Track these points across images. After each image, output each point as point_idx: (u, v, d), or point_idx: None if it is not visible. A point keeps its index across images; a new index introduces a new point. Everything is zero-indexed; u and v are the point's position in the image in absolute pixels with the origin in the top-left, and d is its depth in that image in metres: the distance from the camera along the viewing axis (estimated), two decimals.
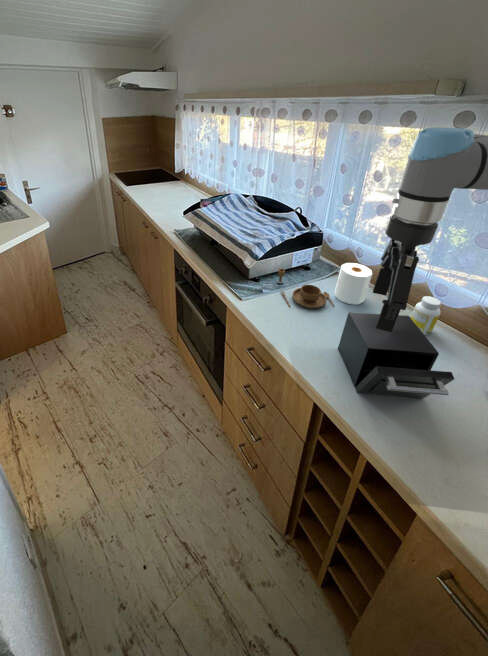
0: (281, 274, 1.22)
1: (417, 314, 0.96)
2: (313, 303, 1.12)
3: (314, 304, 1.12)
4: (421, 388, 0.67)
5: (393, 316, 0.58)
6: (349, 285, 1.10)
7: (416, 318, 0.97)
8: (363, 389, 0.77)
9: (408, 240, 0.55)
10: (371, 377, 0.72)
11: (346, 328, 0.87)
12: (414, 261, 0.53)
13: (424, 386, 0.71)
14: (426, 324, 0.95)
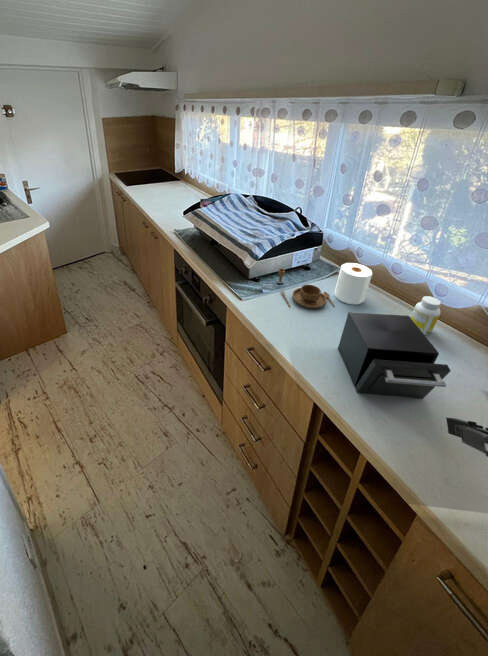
0: (281, 274, 1.22)
1: (417, 314, 0.96)
2: (313, 303, 1.12)
3: (314, 304, 1.12)
4: (418, 379, 0.68)
5: (458, 433, 0.53)
6: (349, 285, 1.10)
7: (416, 318, 0.97)
8: (363, 387, 0.77)
9: None
10: (369, 371, 0.73)
11: (346, 328, 0.87)
12: (485, 452, 0.43)
13: None
14: (426, 324, 0.95)
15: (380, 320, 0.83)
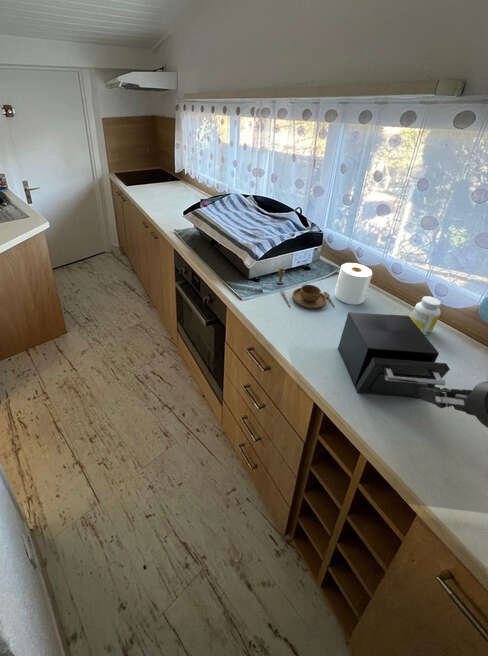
0: (281, 274, 1.22)
1: (417, 314, 0.96)
2: (313, 303, 1.12)
3: (314, 304, 1.12)
4: (418, 378, 0.69)
5: (421, 394, 0.64)
6: (349, 285, 1.10)
7: (416, 318, 0.97)
8: (363, 387, 0.77)
9: (472, 401, 0.49)
10: (369, 370, 0.73)
11: (346, 328, 0.87)
12: (436, 403, 0.53)
13: None
14: (426, 324, 0.95)
15: (380, 320, 0.83)
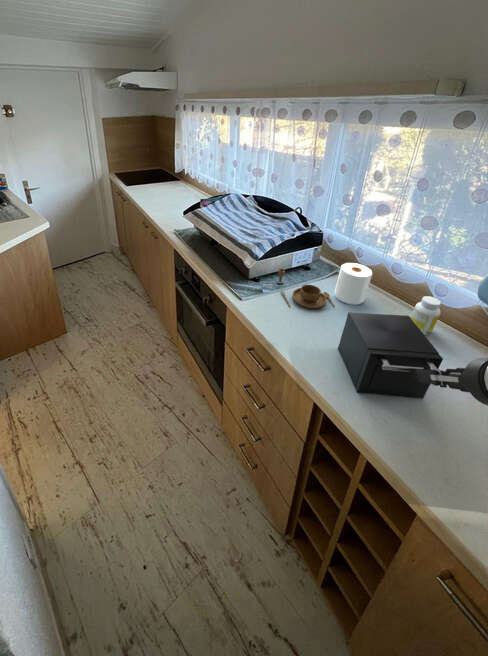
0: (281, 274, 1.22)
1: (417, 314, 0.96)
2: (313, 303, 1.12)
3: (314, 304, 1.12)
4: (413, 366, 0.70)
5: (417, 377, 0.65)
6: (349, 285, 1.10)
7: (416, 318, 0.97)
8: (362, 384, 0.78)
9: (465, 377, 0.50)
10: (366, 363, 0.75)
11: (346, 328, 0.87)
12: (431, 381, 0.55)
13: None
14: (426, 324, 0.95)
15: (380, 320, 0.83)
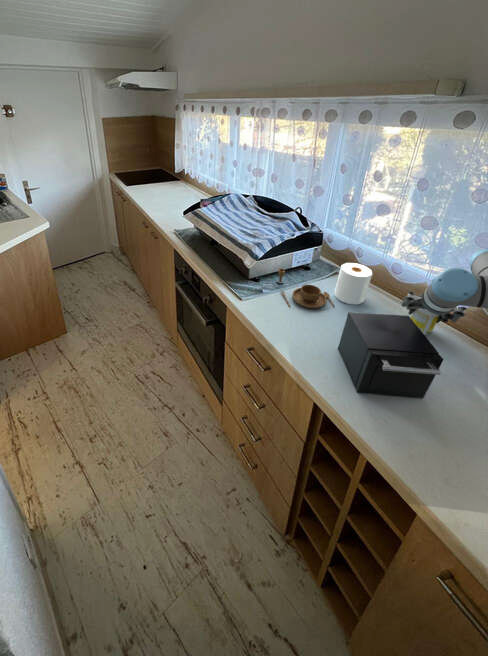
0: (281, 274, 1.22)
1: (417, 314, 0.96)
2: (313, 303, 1.12)
3: (314, 304, 1.12)
4: (413, 367, 0.70)
5: (407, 307, 1.00)
6: (349, 285, 1.10)
7: (416, 318, 0.97)
8: (362, 384, 0.78)
9: (422, 294, 0.86)
10: (366, 364, 0.75)
11: (346, 328, 0.87)
12: (406, 297, 0.91)
13: (418, 373, 0.74)
14: (426, 324, 0.95)
15: (380, 320, 0.83)
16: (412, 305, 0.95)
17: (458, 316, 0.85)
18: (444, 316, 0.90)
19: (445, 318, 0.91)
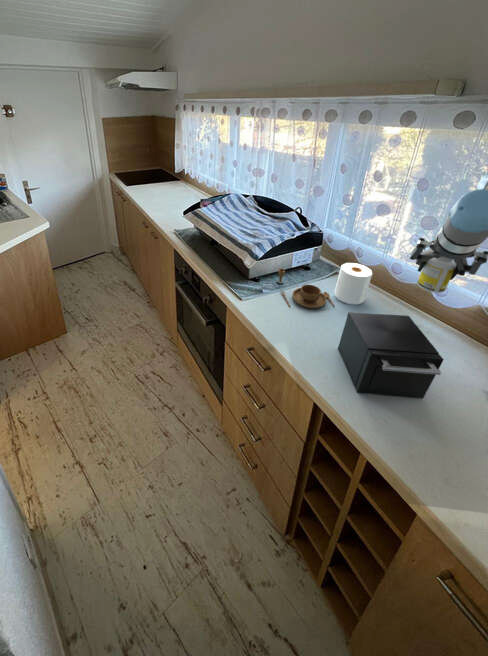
0: (281, 274, 1.22)
1: (428, 268, 0.83)
2: (313, 303, 1.12)
3: (314, 304, 1.12)
4: (413, 367, 0.70)
5: (416, 261, 0.86)
6: (349, 285, 1.10)
7: (428, 273, 0.83)
8: (362, 384, 0.78)
9: (436, 238, 0.73)
10: (366, 364, 0.75)
11: (346, 328, 0.87)
12: None
13: (418, 373, 0.74)
14: (439, 279, 0.82)
15: (380, 320, 0.83)
16: (423, 257, 0.81)
17: (479, 263, 0.71)
18: (461, 267, 0.76)
19: (462, 269, 0.77)
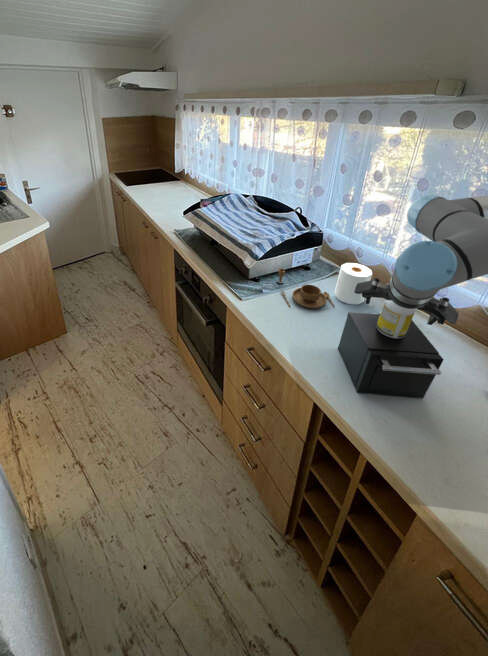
0: (281, 274, 1.22)
1: (386, 312, 0.76)
2: (313, 303, 1.12)
3: (314, 304, 1.12)
4: (413, 367, 0.70)
5: None
6: (349, 285, 1.10)
7: (386, 317, 0.76)
8: (362, 384, 0.78)
9: None
10: (366, 364, 0.75)
11: (346, 328, 0.87)
12: (370, 286, 0.69)
13: (418, 373, 0.74)
14: (397, 325, 0.75)
15: None
16: (370, 293, 0.74)
17: (442, 311, 0.63)
18: (433, 314, 0.67)
19: (438, 317, 0.67)
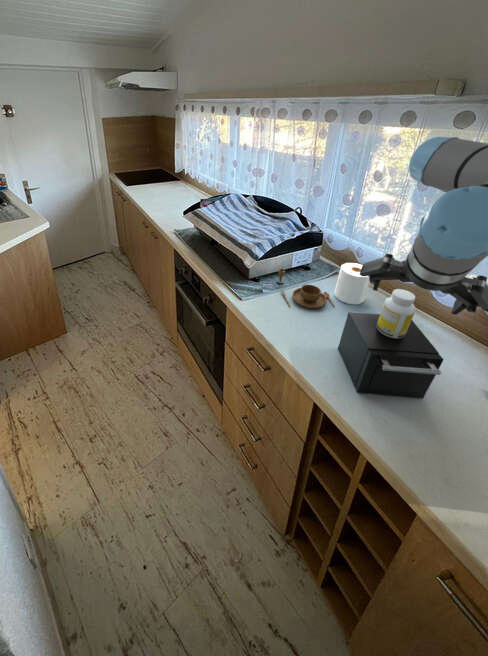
0: (281, 274, 1.22)
1: (386, 312, 0.76)
2: (313, 303, 1.12)
3: (314, 304, 1.12)
4: (413, 367, 0.70)
5: None
6: (349, 285, 1.10)
7: (386, 317, 0.76)
8: (362, 384, 0.78)
9: None
10: (366, 364, 0.75)
11: (346, 328, 0.87)
12: (381, 263, 0.54)
13: (418, 373, 0.74)
14: (397, 325, 0.75)
15: None
16: (380, 274, 0.59)
17: (477, 294, 0.48)
18: (462, 299, 0.52)
19: (468, 303, 0.52)
